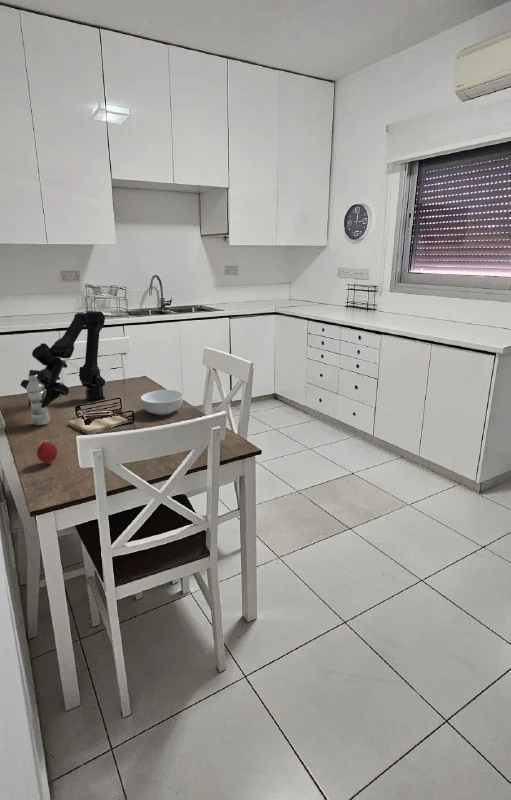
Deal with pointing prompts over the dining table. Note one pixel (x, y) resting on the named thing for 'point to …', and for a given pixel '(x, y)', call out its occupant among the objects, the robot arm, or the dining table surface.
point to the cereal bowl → (162, 401)
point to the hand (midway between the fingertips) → (36, 406)
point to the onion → (47, 452)
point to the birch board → (98, 424)
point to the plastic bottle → (37, 401)
